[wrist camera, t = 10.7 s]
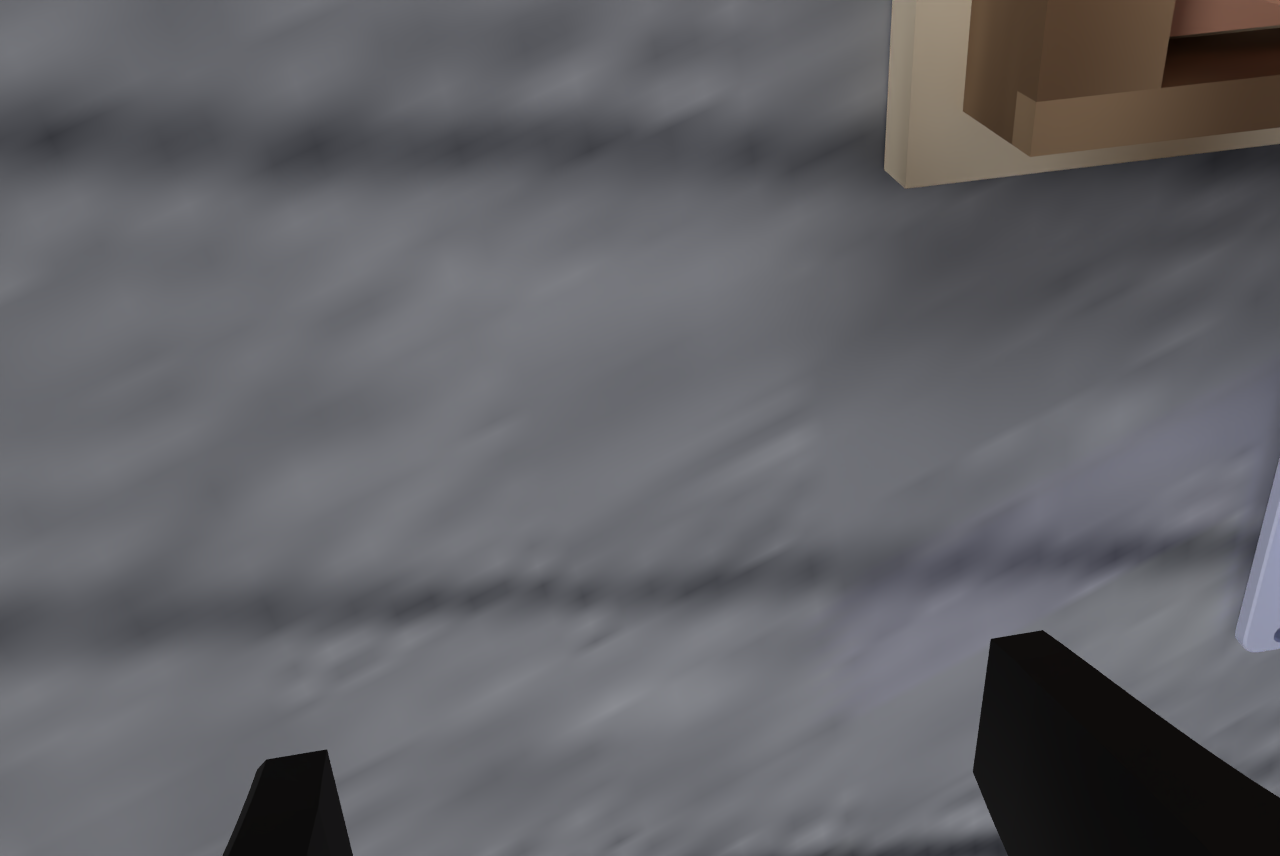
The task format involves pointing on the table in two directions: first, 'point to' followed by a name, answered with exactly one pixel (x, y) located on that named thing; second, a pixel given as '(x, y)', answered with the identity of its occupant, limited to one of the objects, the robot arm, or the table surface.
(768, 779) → the table surface
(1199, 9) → the key peg
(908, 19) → the keyhole board
